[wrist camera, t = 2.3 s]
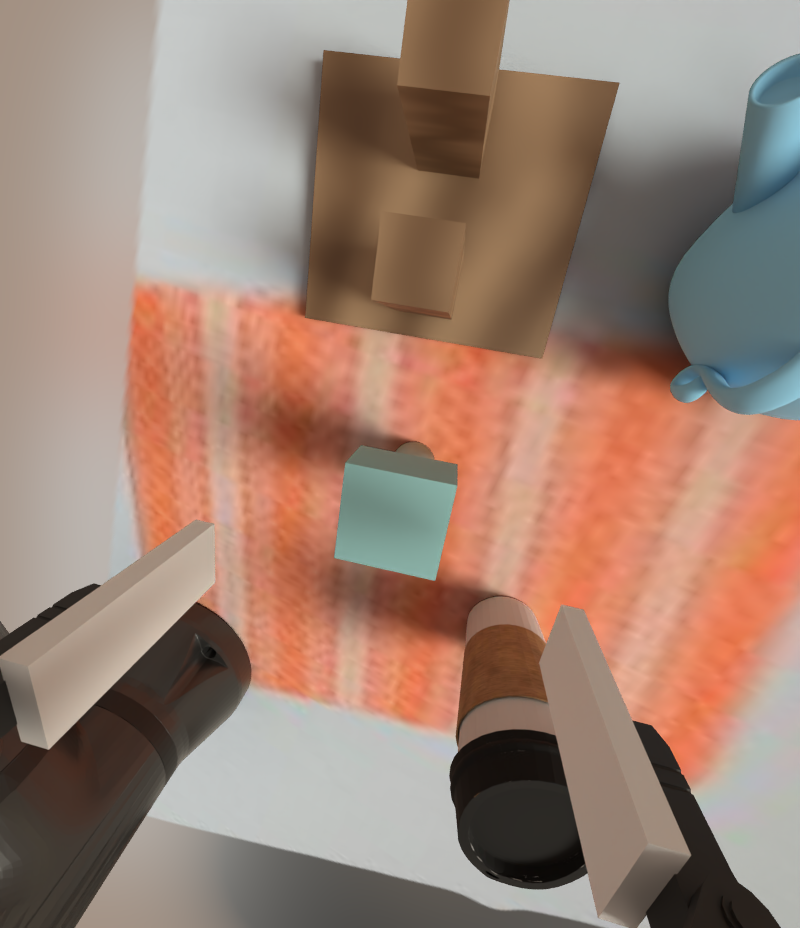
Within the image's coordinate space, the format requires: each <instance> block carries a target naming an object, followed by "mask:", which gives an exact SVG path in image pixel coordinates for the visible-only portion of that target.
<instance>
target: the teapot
mask: <svg viewBox="0 0 800 928" xmlns="http://www.w3.org/2000/svg"><path fill="white" fill-rule="evenodd" d="M669 312H670V317H671V322H672V325H673V328H674V331H675V334H676V337H677V339H678V342H679V344H680V346H681V348H682V350H683V352H684V354H685V356H686V357H687V359H688V361H689V362H690V364H691V366H688V367H686V368H685V369H683V370H682V371H681V372H679V373H678V374H677V375H676V376H675V378H674V379H673V380H672V382H671V384H670V390H671V393H672V395H673V396H674V398H676V399H677V400H679V401H681V402H684V403H689V402H692V401H694V400H696V399H698V398H699V397H701V396H702V395H703V394H704V393H705V392H706V391H707V390H708V391H709V393H710V394H711V395H712V397H713V398H714V399H715V400H716V401H717V402H718V403H719V404H720V405H721V406H723V407H724V408H726V409H728V410H730V411H732V412H735V413H738V414H746V415H751V414H762V415H767V416H771V417H776V418H781V419H789V420H800V54H796V55H793V56H790V57H788V58H786V59H783V60H781V61H779V62H778V63H776V64H774V65H773V66H771V67H770V68H768V69H767V70H766V71H764V72H763V73H762V74H761V75H760V76H759V77H758V78H757V79H756V80H755V82H754V83H753V85H752V86H751V88H750V91H749V96H748V103H747V110H746V117H745V124H744V131H743V138H742V144H741V151H740V158H739V165H738V172H737V179H736V186H735V193H734V200H733V204H732V205H731V206H730V207H729V208H728V209H727V210H725V211H724V212H723V213H722V214H721V215H720V216H719V217H718V218H717V219H716V220H715V221H714V222H713V223H712V224H711V226H710V227H709V228H708V229H707V230H706V231H705V232H704V233H703V234H702V235H701V236H700V237H699V238H698V239H697V241H696V242H695V243H694V244H693V245H692V247H691V248H690V249H689V250H688V251H687V253H686V254H685V255H684V256H683V258H682V260H681V261H680V263H679V265H678V266H677V268H676V270H675V272H674V275H673V277H672V280H671V284H670V289H669Z"/></svg>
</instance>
